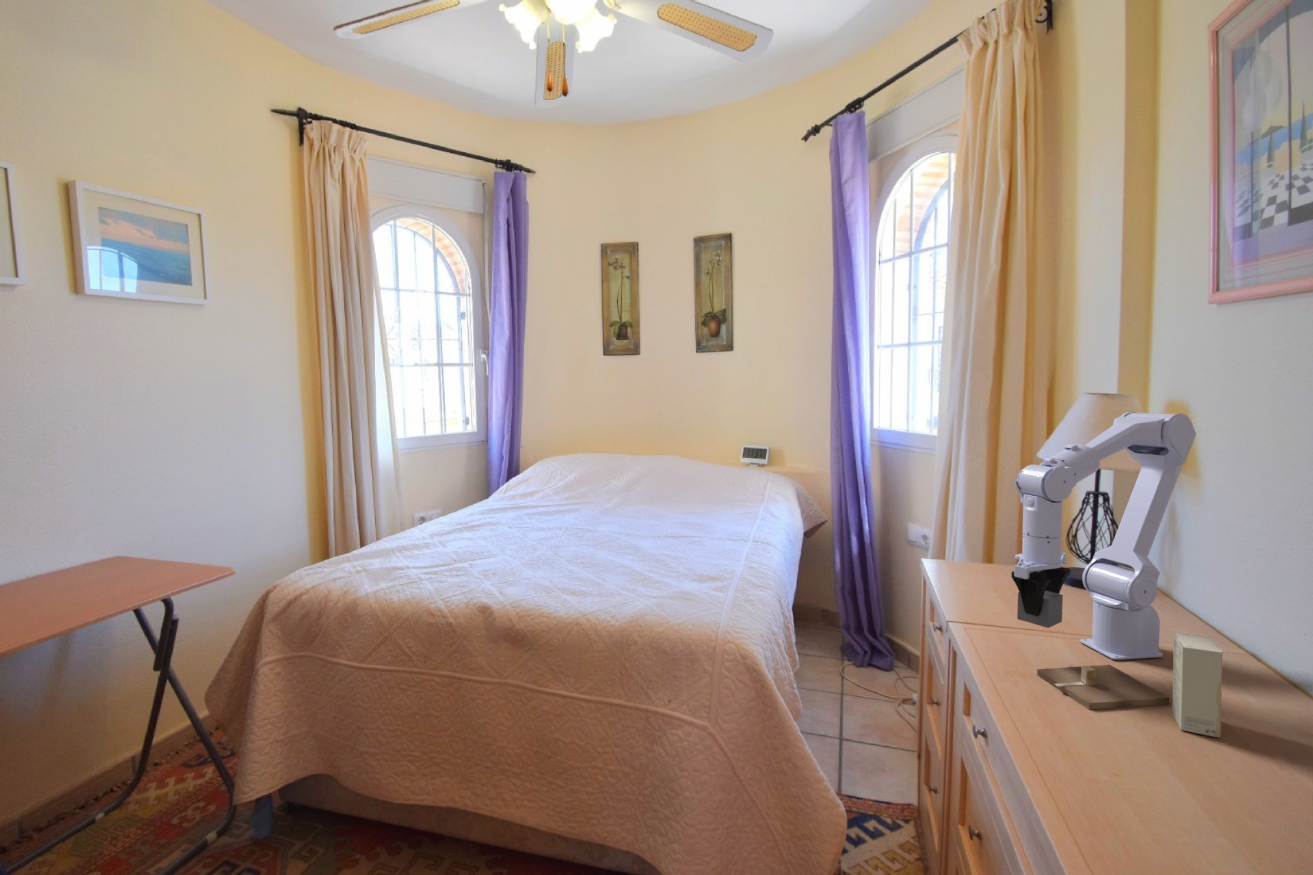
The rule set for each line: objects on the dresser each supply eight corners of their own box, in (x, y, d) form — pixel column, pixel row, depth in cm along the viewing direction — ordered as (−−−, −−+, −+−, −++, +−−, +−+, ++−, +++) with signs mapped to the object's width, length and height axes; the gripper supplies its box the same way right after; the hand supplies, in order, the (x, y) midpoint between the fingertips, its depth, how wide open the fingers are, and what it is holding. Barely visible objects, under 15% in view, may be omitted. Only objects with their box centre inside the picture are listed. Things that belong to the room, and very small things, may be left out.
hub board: (1109, 670, 102) (1110, 650, 101) (1169, 703, 91) (1170, 681, 90) (1032, 675, 101) (1032, 655, 100) (1083, 709, 90) (1084, 687, 89)
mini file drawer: (1031, 613, 108) (1031, 586, 108) (1061, 621, 104) (1062, 594, 104) (1017, 619, 105) (1018, 591, 105) (1048, 627, 101) (1049, 599, 101)
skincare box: (1221, 739, 82) (1225, 653, 81) (1178, 730, 84) (1182, 646, 83) (1209, 717, 87) (1213, 636, 86) (1169, 709, 89) (1173, 630, 88)
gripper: (1037, 524, 111) (1035, 595, 112) (996, 536, 103) (995, 612, 104) (1080, 531, 105) (1078, 606, 106) (1040, 544, 97) (1038, 625, 98)
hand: (1039, 610), depth 105 cm, fingers closed on mini file drawer, 5 cm apart
